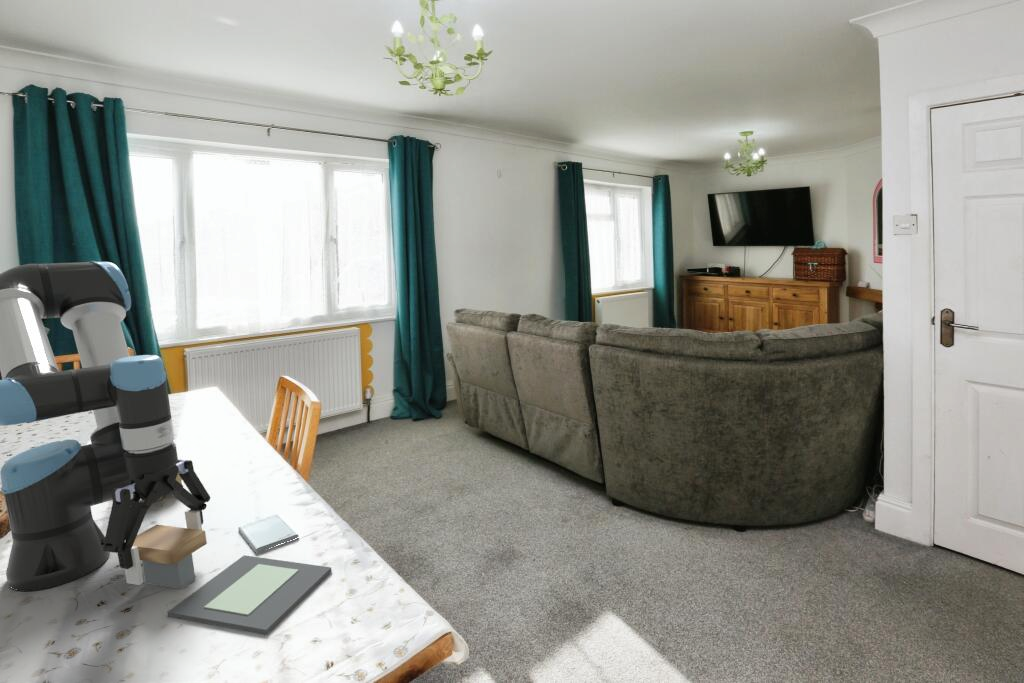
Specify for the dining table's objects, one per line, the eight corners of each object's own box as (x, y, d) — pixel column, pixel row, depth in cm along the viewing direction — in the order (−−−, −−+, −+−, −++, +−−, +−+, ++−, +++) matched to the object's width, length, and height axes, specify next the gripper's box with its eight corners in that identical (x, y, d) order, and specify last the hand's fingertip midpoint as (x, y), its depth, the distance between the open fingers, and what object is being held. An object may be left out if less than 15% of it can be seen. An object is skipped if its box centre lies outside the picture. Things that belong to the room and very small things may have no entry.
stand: (145, 583, 99) (140, 552, 98) (160, 573, 102) (155, 543, 101) (181, 589, 97) (176, 557, 96) (195, 579, 100) (191, 548, 99)
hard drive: (298, 533, 112) (278, 513, 122) (255, 548, 107) (237, 525, 117) (299, 541, 113) (278, 520, 122) (256, 556, 108) (238, 533, 117)
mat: (167, 616, 90) (166, 610, 89) (244, 559, 106) (243, 554, 106) (266, 634, 84) (266, 628, 84) (331, 571, 100) (331, 566, 100)
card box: (123, 557, 97) (121, 544, 96) (158, 537, 103) (156, 524, 103) (173, 564, 94) (171, 551, 93) (206, 543, 100) (204, 530, 100)
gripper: (97, 476, 83) (119, 607, 86) (222, 425, 106) (235, 530, 109) (59, 472, 85) (83, 600, 88) (190, 423, 108) (204, 526, 111)
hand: (167, 562), depth 99 cm, fingers open, 12 cm apart
